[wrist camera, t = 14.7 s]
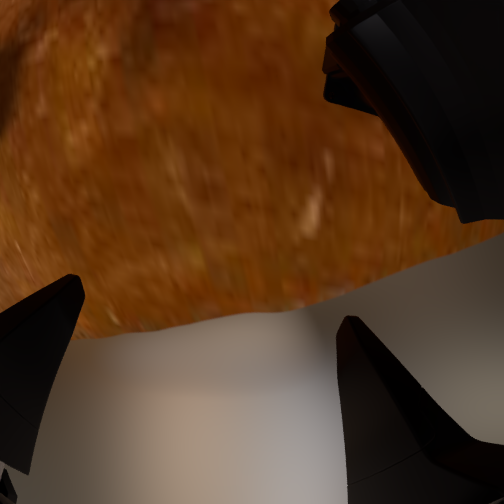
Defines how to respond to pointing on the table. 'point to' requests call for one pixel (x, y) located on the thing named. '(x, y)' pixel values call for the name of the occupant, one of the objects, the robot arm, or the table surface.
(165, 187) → the table surface
